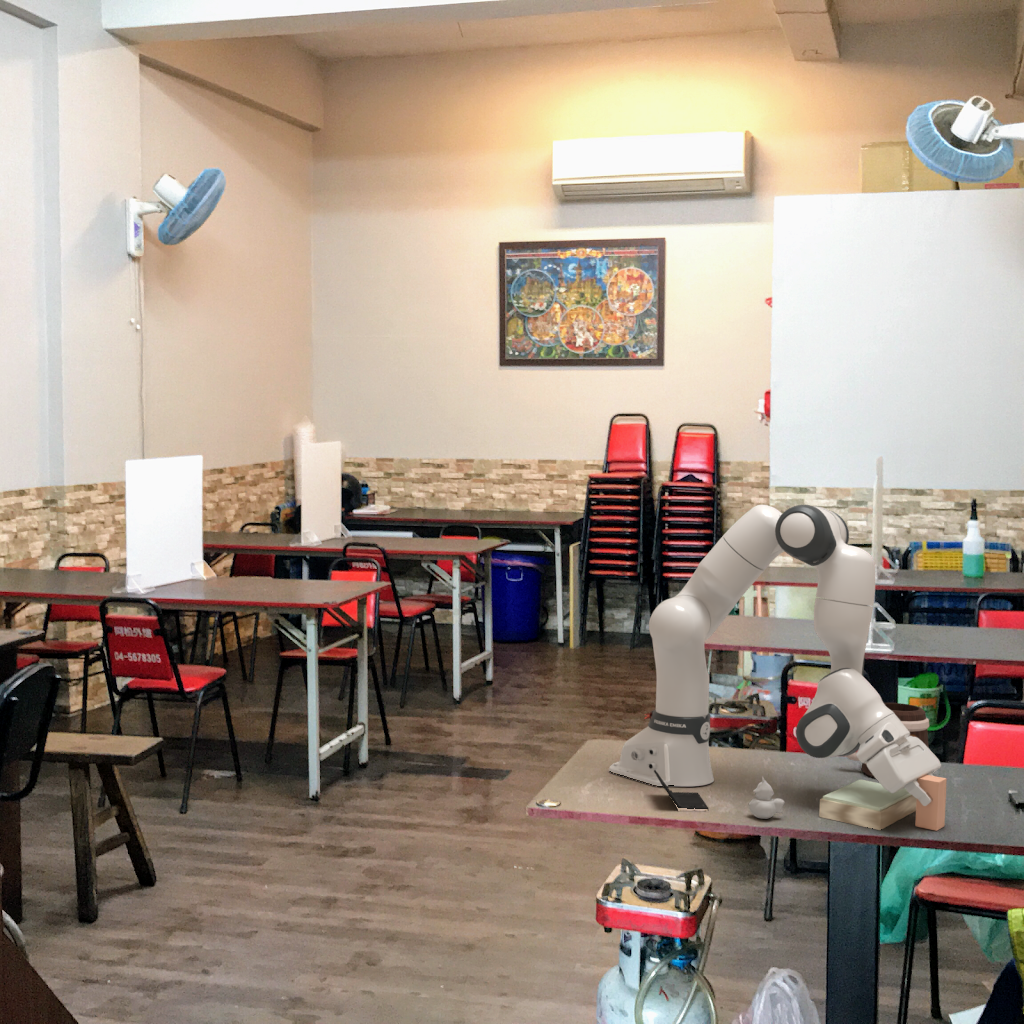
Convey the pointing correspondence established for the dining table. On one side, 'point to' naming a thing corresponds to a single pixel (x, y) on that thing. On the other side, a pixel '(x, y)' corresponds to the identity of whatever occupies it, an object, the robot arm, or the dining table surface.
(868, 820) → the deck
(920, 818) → the terracotta block
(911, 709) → the mug
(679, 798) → the handheld gaming console
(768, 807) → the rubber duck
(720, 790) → the dining table surface
